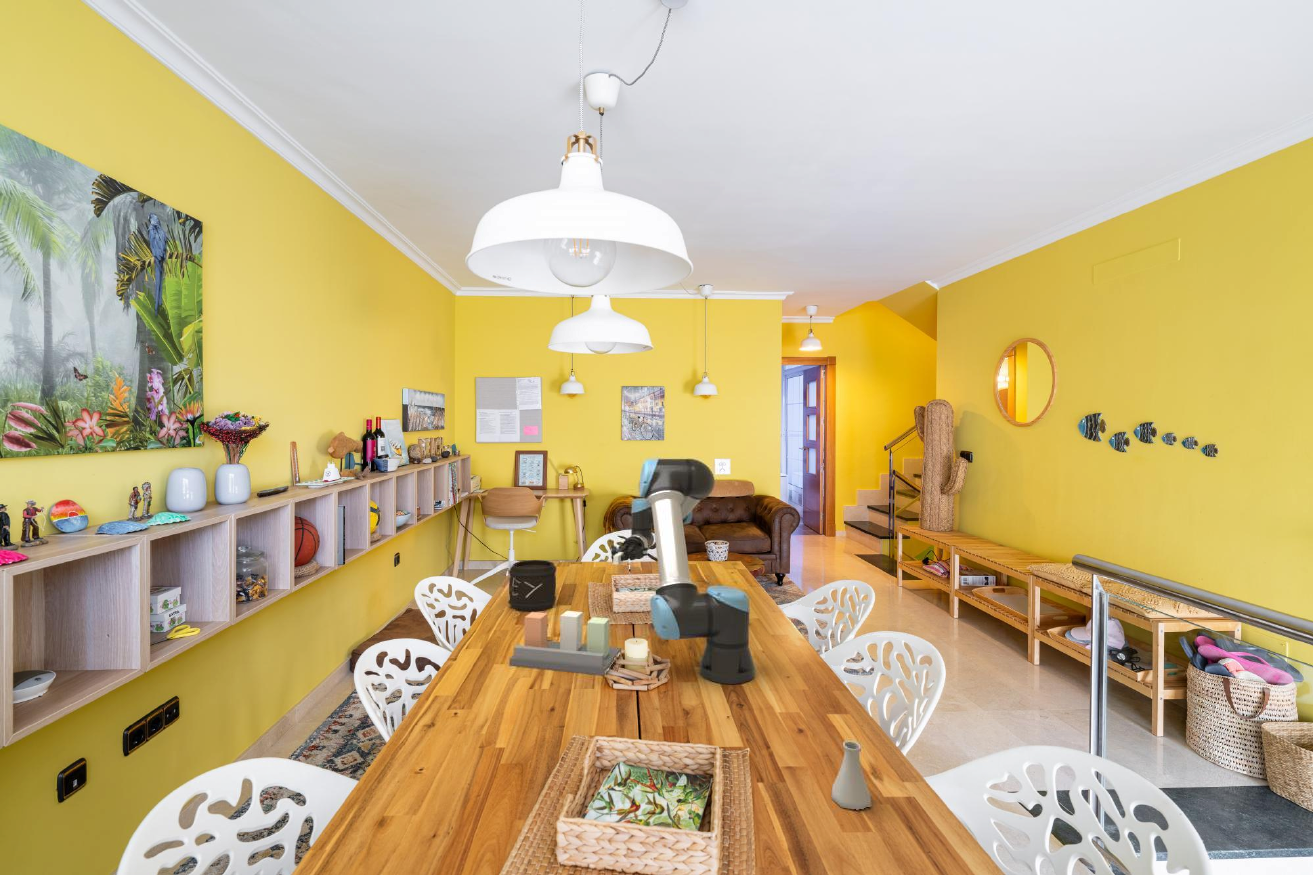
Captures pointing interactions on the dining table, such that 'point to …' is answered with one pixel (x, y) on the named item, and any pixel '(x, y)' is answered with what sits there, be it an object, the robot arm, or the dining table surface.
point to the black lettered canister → (532, 585)
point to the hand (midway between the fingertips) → (615, 560)
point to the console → (563, 658)
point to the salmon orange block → (536, 629)
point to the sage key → (598, 635)
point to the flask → (851, 780)
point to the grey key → (571, 630)
